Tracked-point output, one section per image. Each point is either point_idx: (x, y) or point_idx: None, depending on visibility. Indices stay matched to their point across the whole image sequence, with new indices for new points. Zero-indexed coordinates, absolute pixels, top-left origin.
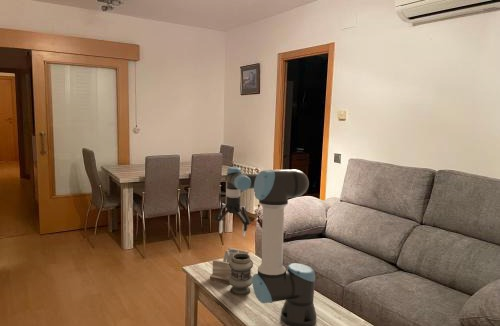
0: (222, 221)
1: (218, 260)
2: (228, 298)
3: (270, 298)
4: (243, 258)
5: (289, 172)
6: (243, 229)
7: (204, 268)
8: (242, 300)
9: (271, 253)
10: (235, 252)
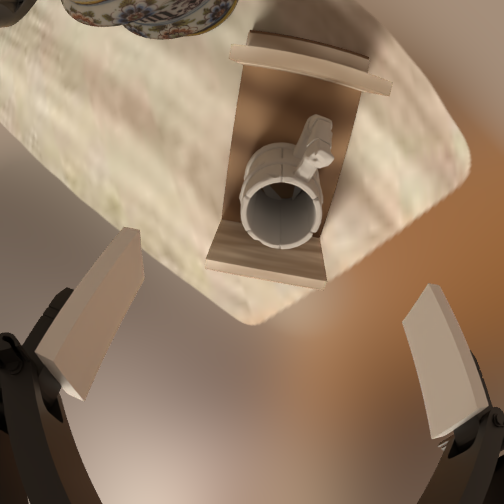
0: (436, 426)
1: (356, 83)
2: None
3: None
4: (125, 14)
5: None
6: (70, 298)
7: (411, 168)
8: None
9: None
10: (271, 232)
